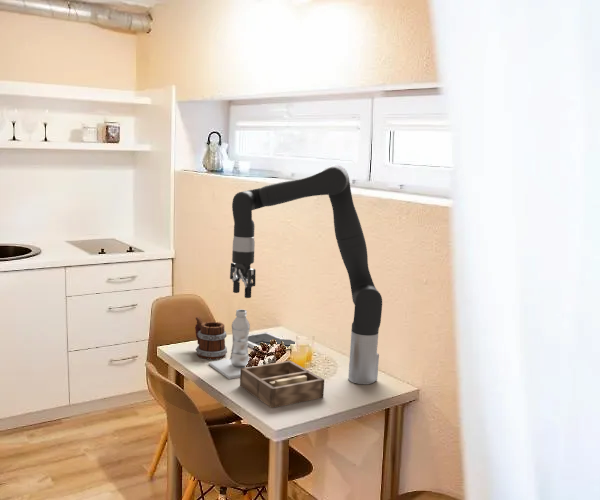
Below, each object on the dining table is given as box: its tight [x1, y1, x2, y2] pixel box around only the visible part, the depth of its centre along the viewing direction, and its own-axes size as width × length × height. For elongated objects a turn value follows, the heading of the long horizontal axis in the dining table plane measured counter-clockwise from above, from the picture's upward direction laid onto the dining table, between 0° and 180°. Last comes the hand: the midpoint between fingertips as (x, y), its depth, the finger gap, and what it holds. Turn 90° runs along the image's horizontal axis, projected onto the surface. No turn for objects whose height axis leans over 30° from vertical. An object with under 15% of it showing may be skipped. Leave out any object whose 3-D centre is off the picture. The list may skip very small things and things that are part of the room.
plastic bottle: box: [229, 309, 251, 367], centre depth 228 cm, size 6×7×20 cm
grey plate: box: [208, 358, 246, 380], centre depth 229 cm, size 16×16×1 cm
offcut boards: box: [269, 375, 307, 387], centre depth 204 cm, size 14×5×6 cm, turn 123°
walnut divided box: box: [239, 360, 325, 409], centre depth 209 cm, size 19×20×6 cm
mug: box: [194, 316, 228, 361], centre depth 242 cm, size 12×14×15 cm
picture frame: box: [248, 331, 296, 349], centre depth 259 cm, size 16×3×21 cm
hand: (241, 295), depth 225 cm, fingers open, 8 cm apart
